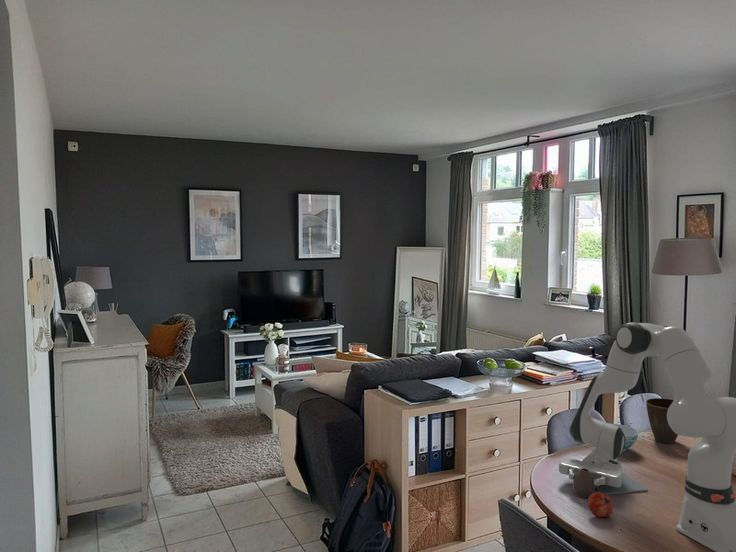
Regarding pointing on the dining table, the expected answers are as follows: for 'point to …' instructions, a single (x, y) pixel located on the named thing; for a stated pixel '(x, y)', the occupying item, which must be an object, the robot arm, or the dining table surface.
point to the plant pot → (660, 420)
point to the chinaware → (628, 435)
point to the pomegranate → (600, 504)
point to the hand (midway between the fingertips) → (583, 480)
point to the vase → (583, 483)
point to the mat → (622, 487)
